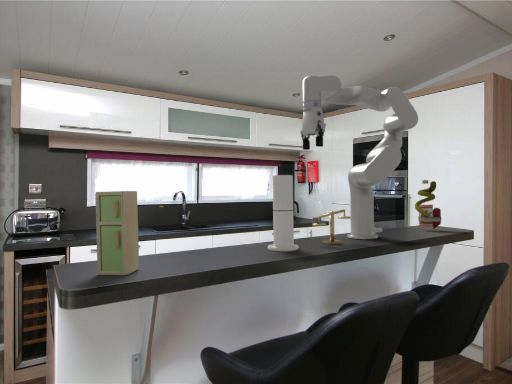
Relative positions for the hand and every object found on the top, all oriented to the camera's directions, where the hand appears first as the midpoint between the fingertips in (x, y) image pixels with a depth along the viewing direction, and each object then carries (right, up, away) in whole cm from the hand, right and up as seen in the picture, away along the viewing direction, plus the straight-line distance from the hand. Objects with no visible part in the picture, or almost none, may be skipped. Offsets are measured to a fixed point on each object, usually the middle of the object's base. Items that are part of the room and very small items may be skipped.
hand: (312, 148), depth 133 cm
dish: (-14, -39, -19) cm, 45 cm away
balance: (+6, -38, -10) cm, 40 cm away
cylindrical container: (-14, -38, -19) cm, 44 cm away
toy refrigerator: (-59, -39, -51) cm, 87 cm away
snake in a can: (+62, -38, +25) cm, 76 cm away
